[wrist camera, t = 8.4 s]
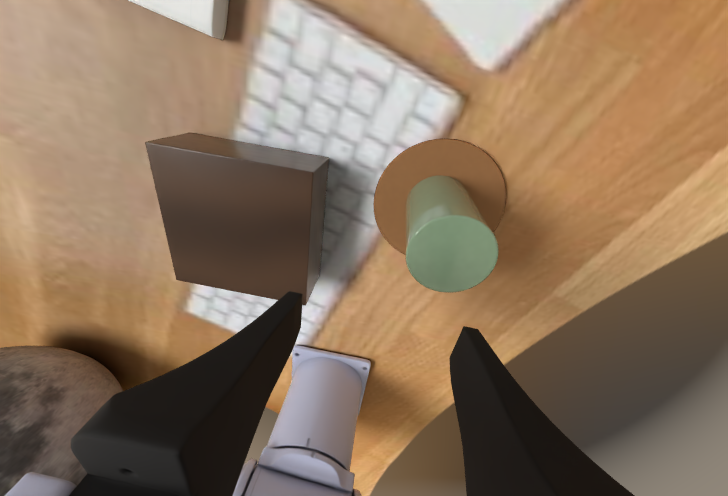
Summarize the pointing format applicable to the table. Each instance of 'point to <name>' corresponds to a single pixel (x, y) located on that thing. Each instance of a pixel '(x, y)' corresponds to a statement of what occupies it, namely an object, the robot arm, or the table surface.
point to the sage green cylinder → (447, 236)
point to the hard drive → (193, 13)
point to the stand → (241, 213)
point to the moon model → (46, 410)
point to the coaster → (432, 161)
